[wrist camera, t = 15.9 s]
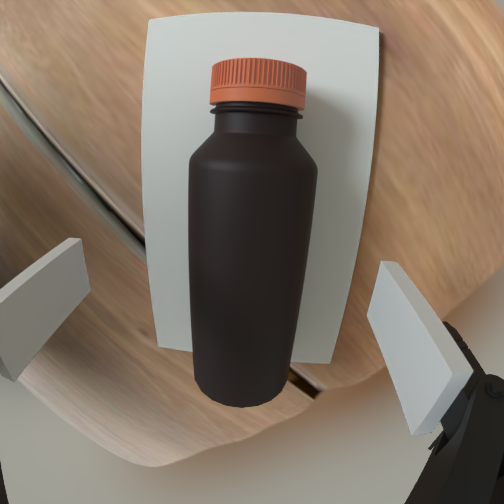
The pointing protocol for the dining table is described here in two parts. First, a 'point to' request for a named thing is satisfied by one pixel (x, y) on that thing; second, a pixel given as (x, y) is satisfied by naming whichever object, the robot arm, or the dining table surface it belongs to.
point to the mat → (308, 133)
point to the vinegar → (249, 231)
